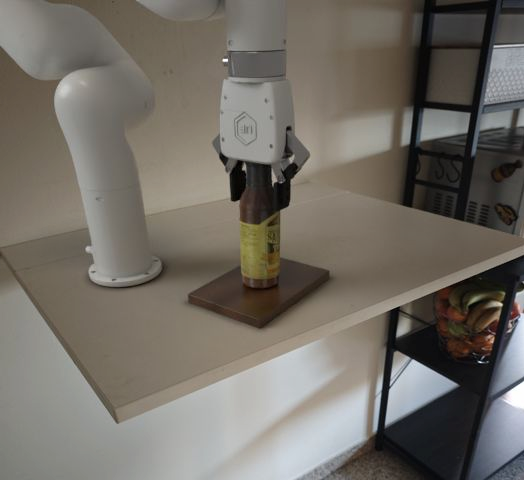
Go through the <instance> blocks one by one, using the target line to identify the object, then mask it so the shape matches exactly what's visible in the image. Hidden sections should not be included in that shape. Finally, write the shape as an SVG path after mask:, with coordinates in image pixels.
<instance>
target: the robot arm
mask: <svg viewBox="0 0 524 480" xmlns="http://www.w3.org/2000/svg"><path fill="white" fill-rule="evenodd" d="M135 1H136V2H138V3H139V4H140V5H142V6H143V7H145V8H146V9H147V10H149V11H151V12H153V13H154V14H156V15H158V16H160V17H162V18H164V19H166V20H170V21H173V22H211V21H216V20H221V19H224V20H225V36H226V37H225V39H226V55H223V58H222V65H223V67H224V68H227V75H228V77H227V78H223V82H222V87H221V94H220V105H219V106H220V107H219V133H218V135H217V136H215V138H214V139H213V140H212V142H211V144H212V147H213V148H214V150H215V152H216V154H217V155H218V159H219V160H220V162H221V163H222V165H223V166H224V167H225V168H224V171H225V173H226V174H227V175H228V176H229V177H228V179H229V193H230V195H229V196H230V201H231V202H233V203H236V202H238V201H240V198H241V196H242V193H243V192H244V191H245V188H246V187H247V184H246V169H243V168H244V166H245V161H248V162H254V163H260V164H271V167H272V173H273V174H274V177H275V179H276V181H275V182H273V183H272V185H273V209H274V210H275V211H280V212H281V211H283V210H284V209H286V208H288V207H289V206H290V203H291V198H292V197H291V195H292V194H291V193H292V192H291V190H292V180H294V178H295V176H296V175H297V174H298V173H299V172H300V171H301V170H302V168H303V166H304V165H305V164H306V163H307V161H308V160H309V159H310V157H311V153H310V151H309V150H308V149H307V147H306V146H305V145H304V144H303V143H302V141H301V140H300V139H299V138H298V137H297V136H296V123H295V120H296V119H295V108H294V107H295V106H294V98H293V91H292V84H291V80H290V79H289V78H287V13H288V11H287V10H288V9H287V7H288V5H287V4H288V3H287V2H288V1H287V0H135ZM0 47H1V48H2V49H3V51H5V52H6V54H8V56H9V57H10V58H11V59H12V60H13V61H14V62H15V63H16V64H17V65H18V66H19V68H21V70H23V72H25V73H26V74H27V75H29V76H30V77H32V78H34V79H36V80H39V81H54V80H55V81H56V80H60V81H59V83H58V84H57V87H56V89H55V92H54V95H53V97H54V100H53V105H54V106H53V107H54V110H55V111H54V112H55V115H56V119H57V122H58V124H59V126H60V129H61V131H62V133H63V136H64V138H65V141H66V143H67V146H68V149H69V152H70V156H71V158H72V159H71V160H72V162H73V166H74V170H75V174H76V175H75V176H76V179H77V184H78V187H79V191H80V196H81V200H82V205H83V211H84V214H85V219H86V223H87V227H88V233H89V237H90V243H91V245H87V246H86V247H85V253H87V254H90V255H92V258H93V263H92V264H91V265H90V267H88V276H89V280H91V281H92V282H93V283H95V284H96V285H99V286H104V287H110V288H123V287H125V288H126V287H131V286H137V285H141V284H144V283H146V282H149V281H152V280H153V279H155V278H156V277H158V275H160V273H161V272H162V271H163V265H162V260H161V259H160V258H159V257H157V256H156V255H153V254H152V250H151V244H150V237H149V231H148V224H147V223H148V222H147V217H146V210H145V203H144V198H143V197H144V196H143V191H142V185H141V179H140V178H141V177H140V172H139V166H138V163H137V160H136V155H135V154H134V152H133V150H132V148H131V147H132V146H131V145H130V143H129V142H128V139H127V135H126V134H127V133H129V132H132V131H136V130H137V129H140V128H141V127H144V126H145V125H146V124H148V123H149V121H151V119H152V118H153V116H154V113H155V110H156V95H155V91H154V88H153V86H152V83H151V81H150V80H149V78H148V77H147V75H146V74H145V72H144V71H143V70H142V68H141V67H140V66H139V65H138V63H137V62H136V61H135V60H134V58H132V56H131V55H130V54H129V53H128V52H127V51H126V49H124V47H123V46H122V45H121V43H119V42H118V41H117V39H116V38H115V37H114V36H113V35H112V34H111V32H110V31H109V30H108V28H106V26H104V24H102V22H101V21H100V20H99V19H98V18H97V17H95V15H93V14H91V13H90V12H89V11H87V10H86V9H84V8H82V7H80V6H77V5H74V4H69V3H68V4H67V3H52V2H48V1H47V0H0ZM293 156H294V158H293V160H292V161H290V158H292V157H293Z"/></svg>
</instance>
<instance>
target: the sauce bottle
mask: <svg viewBox="0 0 524 480" xmlns="http://www.w3.org/2000/svg"><path fill="white" fill-rule="evenodd" d="M244 166H245V170H246V184H247V187H246V188H245V191H244V192H243V193H242V196H241V198H240V200H239V205H238V207H239V218H238V222H239V251H240V265H241V273H242V280H243V283H244V284H245V285H246V286H249V287H250V288H258V289H264V288H268V287H271V286H274V285H275V284H277V283H278V281H279V273H280V257H281V210H280V211H275V210H274V209H273V183H274V181H273V169H272V167H271V164H260V163H254V162H248V161H245V163H244Z"/></svg>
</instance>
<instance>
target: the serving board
mask: <svg viewBox="0 0 524 480" xmlns="http://www.w3.org/2000/svg"><path fill="white" fill-rule="evenodd" d="M330 272H331V271H330V270H329V269H325V268H322V267H319V266H314V265H310V264H307V263H304V262H299V261H295V260H292V259H288V258H285V257H282V256H280V273H279V281H278V283H277V284H275V285H274V286H271V287H268V288H264V289H258V288H250V287H249V286H246V285H245V284H244V283H243V280H242V273H241V264H240V265H237V266H235V267H234V268H233V269H231V270H228V271H226V272H225V273H223V274H222V275H220V276H218V277H216V278H214V279H212V280H211V281H209V282H207V283H206V284H203V285H202V286H200V287H197V288H196V289H195V290H193V291H190V292H189V293H187V300H188V303H190V304H191V305H195V306H198V307H199V308H203V309H205V310H209V311H211V312H214V313H217V314H219V315H222V316H225V317H227V318H231V319H232V320H236V321H238V322H241V323H244V324H247V325H249V326H252V327H254V328H258V329H261V328H262V327H264V326H265V325H266V324H268V323H269V322H271V321H272V320H273V319H275V318H276V317H277V316H279V315H280V314H282V313H283V312H285V311H286V310H287V309H289V308H290V307H292V306H294V304H296V303H298V302H299V301H300V300H301V299H303V298H304V297H306V296H307V295H309V294H310V293H311V292H313V291H314V290H315V289H316V288H318V287H320V286H321V285H322V284H324V283H325V282H327V281H328V280H329V279H330V274H331V273H330Z"/></svg>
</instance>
